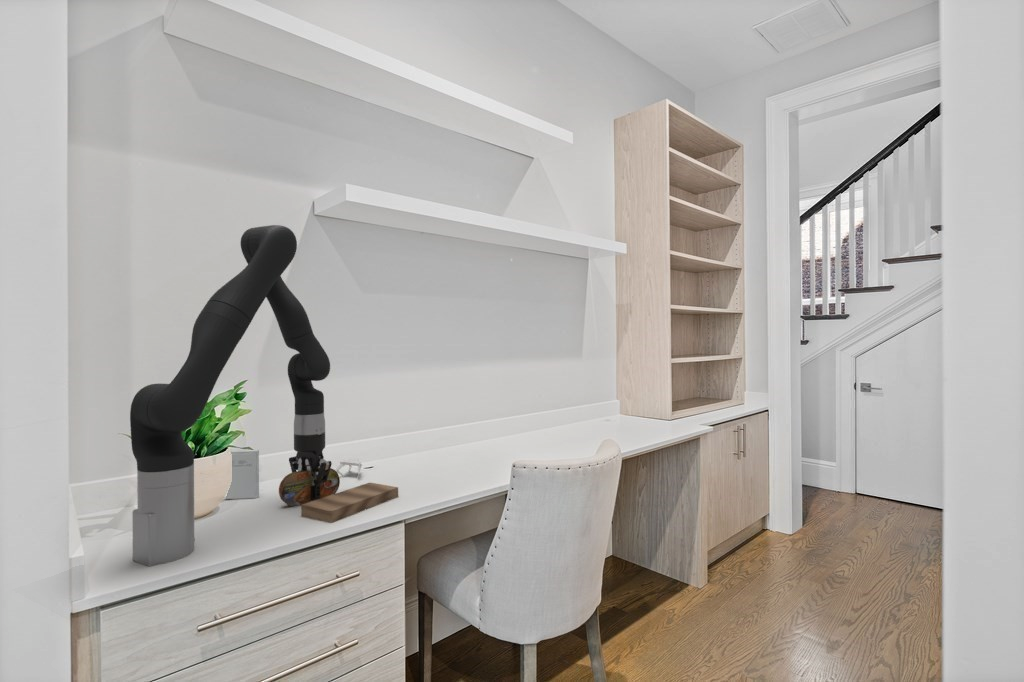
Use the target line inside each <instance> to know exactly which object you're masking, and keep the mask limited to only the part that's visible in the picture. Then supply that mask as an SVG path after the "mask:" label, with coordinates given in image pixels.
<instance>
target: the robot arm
mask: <svg viewBox="0 0 1024 682" xmlns="http://www.w3.org/2000/svg"><path fill="white" fill-rule="evenodd" d="M240 248H241V253H242V256H243V257H244V259H245V261H246V263H247V265H246V266H245V267H244V269H242V271H240V272H239V273H238V274H236V275H235V276H234V277H233V278H231V279H230V280H228V282H226V283H225V284H224V285H223V286H221V287H220V288H219V289H217V290H216V291H215V292H214V294H212V295H211V297H210V298H209V299H208V301H207V303H206V304H205V305H204V306H203V308H202V309H201V311H200V313H199V314H198V316H197V318H196V320H195V322H194V324H193V328H192V333H191V342H190V350H189V353H188V355H187V358H186V360H185V362H184V363H183V365H182V366H181V368H180V370H179V371H178V372H177V374H176V375H175V377H174V378H173V379H172V380H171V382H169V383H151V384H148V385H145V386H144V387H142V388H141V389H139V390H138V391H137V392H136V394H135V395H134V397H133V399H132V402H131V404H130V410H129V413H130V414H129V421H130V425H129V426H130V437H131V439H130V440H131V443H130V444H131V450H132V454H133V456H134V458H135V461H136V465H137V466H136V467H137V470H136V471H137V474H136V476H137V477H136V481H137V483H136V484H137V485H136V486H137V492H136V493H137V508H135V509H133V510H132V513H131V515H132V561H134V562H136V563H139V564H142V565H144V566H147V567H153V566H156V565H161V564H167V563H171V562H176V561H179V560H181V559H184V558H187V557H189V556H190V555H191V554H193V553H194V551H195V541H196V539H195V455H194V450H193V448H191V447H190V445H188V444H187V442H186V441H185V440H184V438H183V435H182V432H185V431H188V429H190V428H191V427H193V425H195V424H196V422H197V421H198V420H199V418H200V417H201V415H202V414H203V411H204V410H205V407H206V405H207V404H208V401H209V398H210V397H211V394H212V392H213V390H214V387H215V385H216V383H217V381H218V379H219V377H220V375H221V373H222V371H223V370H224V368H225V366H226V365H227V363H228V361H229V360H230V358H231V356H232V355H233V352H234V351H235V349H236V348H237V345H238V344H239V342H240V341H241V339H242V338H243V336H244V335H245V333H246V331H247V330H248V328H249V326H250V325H251V323H252V321H253V319H254V317H255V315H256V314H257V312H258V310H259V309H260V307H261V306H262V304H263V303H264V301H265V299H267V302H268V304H269V306H270V308H271V310H272V312H273V315H274V317H275V318H276V321H277V324H278V327H279V330H280V333H281V336H282V338H283V341H284V344H285V345H286V346H287V348H289V349H291V350H294V351H296V352H298V353H296V354H293V355H292V356H291V358H290V359H289V361H288V363H287V376H288V381H289V383H290V387H291V391H292V394H293V397H294V418H293V449H294V451H295V452H296V456H291V457H288V461H289V463H288V464H289V465H290V469H291V473H293V472H298V471H308V476H309V477H310V480H311V485H312V486H311V500H317V499H319V498H320V485H321V483H325V482H326V481H327V478H328V475H329V471H330V468H332V461H331V460H326V459H325V457H324V453H323V451H324V449H325V448H326V420H325V419H326V418H325V396H324V393H323V392H322V390H319V389H316V388H315V387H314V385H313V382H312V381H314V382H320V381H323V380H325V379H326V378H328V376H329V374H330V371H331V362H330V361H331V360H330V358H329V356H328V353H327V352H326V351H325V349H324V348H323V346H322V345H321V343H320V342H319V340H318V339H317V337H316V336H315V334H314V332H313V328H312V325H311V322H310V320H309V319H310V318H309V316H308V314H307V312H306V310H305V308H304V306H303V305H302V303H301V302H300V301H299V299H298V298H297V297H296V296H295V295H294V293H293V292H292V291H291V290H290V289H289V287H288V286H287V284H286V282H285V281H284V280H283V278H282V274H283V273H284V272H285V271H286V270H287V268H288V267H289V266H290V265H291V263H292V262H293V260H294V258H295V257H296V253H297V250H298V249H297V248H298V241H297V237H296V234H295V233H294V232H293V231H292V230H291V228H289V227H287V226H285V225H281V224H277V225H276V224H274V225H273V224H272V225H263V226H257V227H256V226H255V227H251V228H248V229H246V230H245V231H244V232H243V234H242V236H241V237H240ZM313 471H317V472H314V473H313ZM315 476H317V479H316V480H315ZM322 476H323V478H322Z"/></svg>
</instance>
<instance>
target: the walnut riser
mask: <svg viewBox="0 0 1024 682" xmlns="http://www.w3.org/2000/svg"><path fill="white" fill-rule="evenodd" d="M398 497H399V487H398V486H393V485H387V484H381V483H375V482H366V483H364V484H360V485H359V486H355V487H352V488H348V489H346V490H343V491H340V492H336V493H335V494H333V495H330V496H327V497H324V498H321V499H317V500H314V501H311V502H308V503H305V504H302V505H300V506H301V508H300V510H301V512H300V513H301V515H300V517H302V518H306V519H310V520H315V521H320V522H324V523H329V524H333V523H335V522H337V521H340V520H344V519H345V518H348V517H350V516H353V515H355V514H358V513H361V512H364V511H366V510H368V509H371V508H373V507H376V506H379V505H381V504H384V503H386V502H388V501H391V500H393V499H397V498H398ZM365 509H366V510H365Z"/></svg>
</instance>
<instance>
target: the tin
mask: <svg viewBox="0 0 1024 682" xmlns="http://www.w3.org/2000/svg"><path fill="white" fill-rule="evenodd" d="M314 472H317V471H313V473H314ZM322 478H323V476H322ZM316 479H317V476H315V480H316ZM340 482H341V480H340V474H339V473H337V472H336V471H335V469H334V468H332V467H331V468H330V471H329V475H328V478H327V481H326V482H325V483H321V485H320V498H319V499H321V498H324V497H327V496H330V495H333V494H336V493H338V490H339V488H340V485H341V483H340ZM311 486H312V485H311V480H310V477H309V476H308V471H298V470H297V472H293V473H292V472H290V473H288V474H286V475H285V476H284V478H282V480H281V481H280V483H279V487H278V496H279V498H280V500H281V501H282V502H283V503H285V504H286V505H287V506H289V507H294V508H295V507H299V506H301V505H302V504H305V503H308V502H311V501H314V500H311Z"/></svg>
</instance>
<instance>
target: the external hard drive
mask: <svg viewBox="0 0 1024 682" xmlns="http://www.w3.org/2000/svg"><path fill="white" fill-rule="evenodd" d="M229 451H230V452H231V454H232V482H231V485H230V488H229V490H228V493H227V496H226V499H225V500H235V499H237V500H239V499H258V498H259V497H260V467H259V466H260V463H259V462H260V450H259V449H246V450H245V449H242V450H241V449H240V450H239V449H238V450H237V449H236V450H235V449H234V450H229Z"/></svg>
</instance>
